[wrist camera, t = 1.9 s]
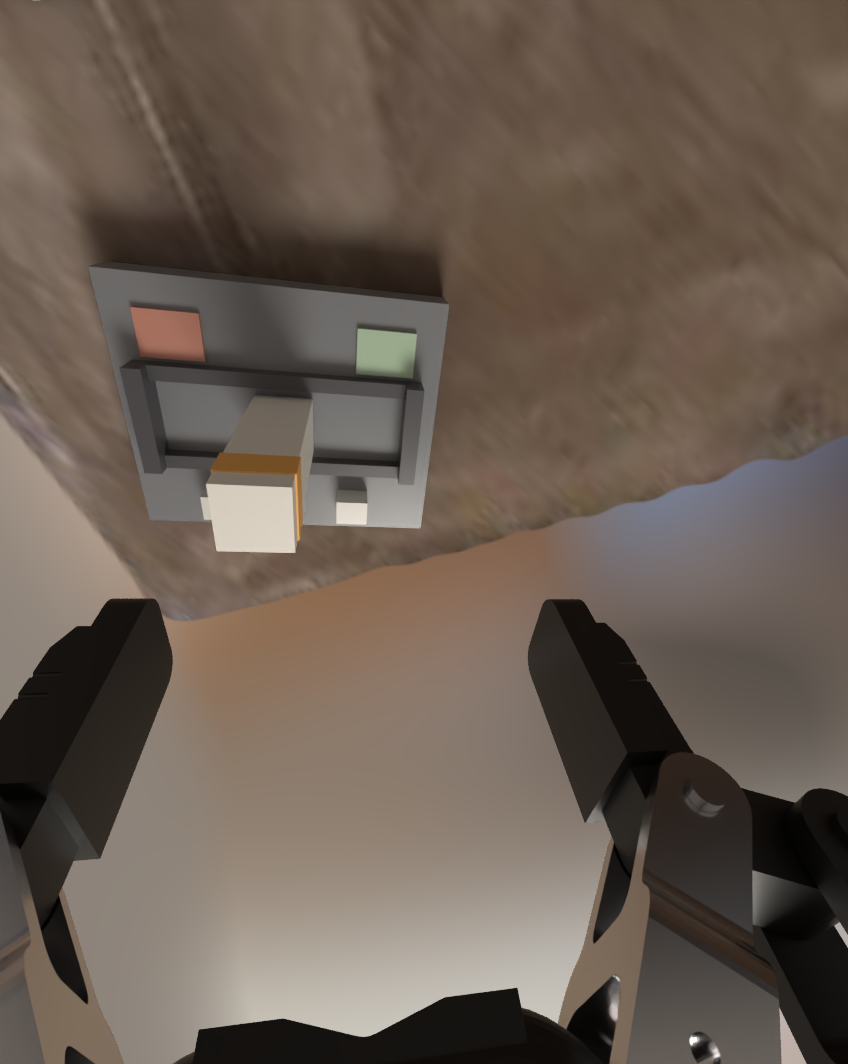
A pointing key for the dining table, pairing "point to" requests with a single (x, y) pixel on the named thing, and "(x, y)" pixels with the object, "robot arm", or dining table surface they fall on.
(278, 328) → the board
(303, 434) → the orange-banded white pillar
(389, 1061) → the robot arm
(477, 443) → the dining table surface
